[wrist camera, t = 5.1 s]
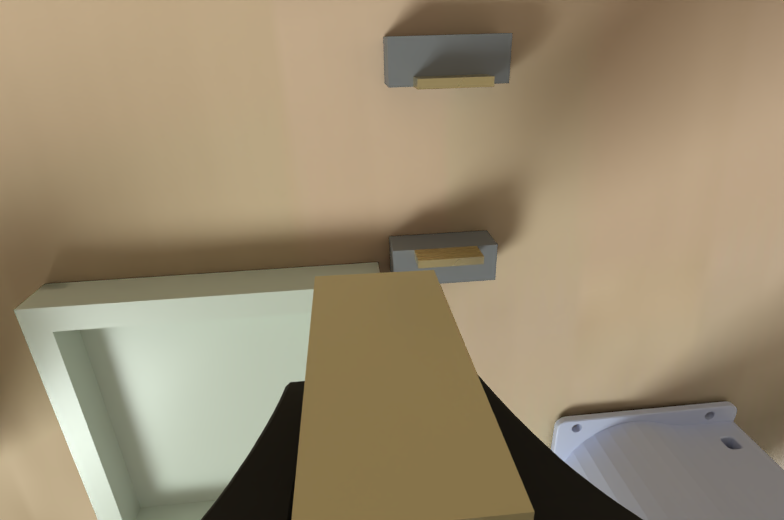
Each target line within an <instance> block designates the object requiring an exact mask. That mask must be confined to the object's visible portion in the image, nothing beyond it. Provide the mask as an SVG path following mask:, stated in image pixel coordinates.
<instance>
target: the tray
mask: <svg viewBox="0 0 784 520" xmlns="http://www.w3.org/2000/svg"><path fill="white" fill-rule="evenodd" d="M368 273H380V271H379V265H378V262H372V263H357V264H341V265H326V266H311V267H296V268H280V269H265V270H250V271H235V272H219V273H204V274H189V275H174V276H158V277H143V278H128V279H113V280H97V281H82V282H67V283H52V284H44V285H43V286H42V287H40V288H39V289H38V290H37V291H36V292H34V293H33V294H32V295H31V296H30V297H28V298H27V299H26V300H25V301H24V302H22V303H21V304H20V305H19V306H18V307H16V308H15V309H14V312H15V315H16V317H17V320H18V322H19V325H20V327H21V330H22V332H23V335H24V337H25V340H26V342H27V344H28V347H29V349H30V352H31V354H32V357H33V359H34V362H35V364H36V367H37V369H38V372H39V374H40V377H41V379H42V382H43V384H44V387H45V389H46V392H47V394H48V397H49V399H50V402H51V404H52V407H53V409H54V412H55V414H56V417H57V419H58V422H59V424H60V427H61V429H62V432H63V434H64V437H65V439H66V442H67V444H68V447H69V449H70V452H71V454H72V456H73V459H74V461H75V464H76V466H77V469H78V471H79V474H80V476H81V479H82V481H83V484H84V486H85V489H86V491H87V494H88V496H89V499H90V501H91V504H92V506H93V509H94V511H95V514H96V516H97V519H98V520H201V519H202V517H203V516H204V515H205V514H206V513H207V511H208V510H209V509H210V508H211V506H212V505H213V504H214V502H215V501H216V500H217V498H218V497H219V496H220V494H221V493H222V492H223V490H224V489H225V488H226V486H227V485H228V484H229V482H230V481H231V479H232V478H233V476H234V475H235V473H236V472H237V470H238V469H239V468H240V466H241V465H242V463H243V462H244V460H245V459H246V457H247V456H248V454H249V453H250V451H251V450H252V448H253V446H254V445H255V443H256V441H257V440H258V438H259V436H260V435H261V433H262V431H263V430H264V428H265V426H266V425H267V423H268V421H269V419H270V417H271V415H272V414H273V412H274V410H275V408H276V406H277V404H278V402H279V400H280V398H281V396H282V394H283V391H284V389H285V387H286V386H287V385H288V384H289V383H290V382H298V381H305V374H306V363H307V353H308V343H309V332H310V322H311V312H312V301H313V291H314V281H315V276H331V275H349V274H368Z"/></svg>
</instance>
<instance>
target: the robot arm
mask: <svg viewBox="0 0 784 520" xmlns="http://www.w3.org/2000/svg"><path fill="white" fill-rule="evenodd" d="M477 375H478V374H477ZM478 377H479V376H478ZM479 379H480V382H481V384H482V387H483V389H484V391H485V394H486V396H487V399H488V401H489V403H490V406H491V408H492V411H493V413H494V415H495V418H496V420H497V423H498V425H499V427H500V430H501V432H502V435H503V437H504V439H505V442H506V444H507V447H508V449H509V451H510V454H511V456H512V459H513V461H514V463H515V466H516V468H517V471H518V473H519V475H520V478H521V480H522V483H523V485H524V488H525V490H526V492H527V495H528V497H529V500H530V502H531V504H532V507H533V509H534V512H535V513H534V519H533V520H784V470H783V469H782V468H781V467H780V466H779V465H778V464H777V463H776V462H775V461H774V460H773V459H772V458H771V457H770V456H769V455H768V454H767V453H766V452H764V451H763V450H762V449H761V448H760V447H759V446H758V445H757V444H756V443H755V442H754V441H753V440H752V439H751V438H750V437H749V436H748V435H747V434H746V433H745V432H744V431H743V430H742V429H741V428H740V427H739V426H738V425H737V424H736V423H735V422H734V419H735V416H736V413H737V408H736V407H735V406H734V405H733V404H732V403H731V402H727V401H725V402H714V403H704V404H693V405H682V406H672V407H661V408H651V409H640V410H629V411H619V412H608V413H597V414H587V415H576V416H566V417H561V418H560V419H558V420H557V421H556V423H555V426H554V432H553V439H552V446H551V449H549V448H548V447H547V446H546V445H545V444H544V443H543V442H542V441H541V440H540V439H539V438H537V437H536V436H535V435H534V434H533V433H532V432H531V431H530V430H529V429H528V428H527V427H526V426H525V425H524V424H523V423H522V422H521V421H520V420H519V419H518V418H517V417H516V416H515V415H514V414H513V413H512V412H511V411H510V410H509V409H508V408H507V407H506V405H505V404H504V403H503V402H502V401H501V400H500V399H499V398H498V397H497V396H496V395H495V394H494V392H493V391H492V390H491V389H490V388H489V387H488V386H487V385H486V384H485V382H484V381H483V380H482V379H481V378H480V377H479ZM304 384H305V381H298V382H290V383H289V384H288V385H287V386H286V387H285V389H284V391H283V394H282V396H281V398H280V400H279V402H278V404H277V406H276V408H275V410H274V412H273V414H272V415H271V417H270V419H269V421H268V423H267V425H266V426H265V428H264V430H263V431H262V433H261V435H260V436H259V438H258V440H257V441H256V443H255V445H254V446H253V448H252V450H251V451H250V453H249V454H248V456H247V457H246V459H245V460H244V462H243V463H242V465H241V466H240V468H239V469H238V470H237V472H236V473H235V475H234V476H233V478H232V479H231V481H230V482H229V484H228V485H227V486H226V488H225V489H224V490H223V492H222V493H221V494H220V496H219V497H218V498H217V500H216V501H215V502H214V504H213V505H212V506H211V508H210V509H209V510H208V511H207V513H206V514H205V515H204V516H203V517H202V519H201V520H291V519H292V508H293V498H294V488H295V477H296V467H297V457H298V446H299V436H300V426H301V415H302V405H303V394H304ZM574 425H576V426H574Z"/></svg>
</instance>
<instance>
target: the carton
mask: <svg viewBox="0 0 784 520" xmlns="http://www.w3.org/2000/svg"><path fill="white" fill-rule="evenodd" d="M534 513H535V512H534V509H533V507H532V504H531V502H530V500H529V497H528V495H527V492H526V490H525V488H524V485H523V483H522V480H521V478H520V475H519V473H518V471H517V468H516V466H515V463H514V461H513V459H512V456H511V454H510V451H509V449H508V447H507V444H506V442H505V439H504V437H503V435H502V432H501V430H500V427H499V425H498V423H497V420H496V418H495V415H494V413H493V411H492V408H491V406H490V403H489V401H488V399H487V396H486V394H485V391H484V389H483V387H482V384H481V382H480V379H479V377H478V375H477V372H476V370H475V367H474V365H473V363H472V360H471V358H470V355H469V353H468V351H467V348H466V346H465V343H464V341H463V339H462V336H461V334H460V331H459V329H458V327H457V324H456V322H455V319H454V317H453V315H452V312H451V310H450V307H449V305H448V302H447V300H446V298H445V295H444V293H443V290H442V288H441V286H440V283H439V281H438V278H437V276H436V274H435V271H434V270H423V271H405V272H386V273H368V274H349V275H331V276H315V281H314V291H313V301H312V312H311V322H310V332H309V343H308V353H307V363H306V374H305V384H304V394H303V405H302V415H301V426H300V436H299V446H298V457H297V467H296V477H295V488H294V498H293V508H292V519H291V520H533V519H534Z"/></svg>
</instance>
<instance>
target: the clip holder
mask: <svg viewBox="0 0 784 520" xmlns="http://www.w3.org/2000/svg"><path fill="white" fill-rule="evenodd" d="M383 43H384V76H385V84H386V85H387V86H388V87H415V88H416V89H443V88H470V87H494V84H496V83H509V75H510V61H511V46H512V33H498V34H462V35H427V36H391V37H383ZM389 244H390V271H391V272H405V271H423V270H434V271H435V274H436V276H437V278H438V281H439V283H440V284H441V283H455V282H469V281H484V280H495V275H496V261H497V246H498V244H497V243H496V242H495V241H494V239H493V238H492V237H491V235H490V234H489V233H488V232H487V231H470V232H454V233H438V234H421V235H405V236H389Z"/></svg>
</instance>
